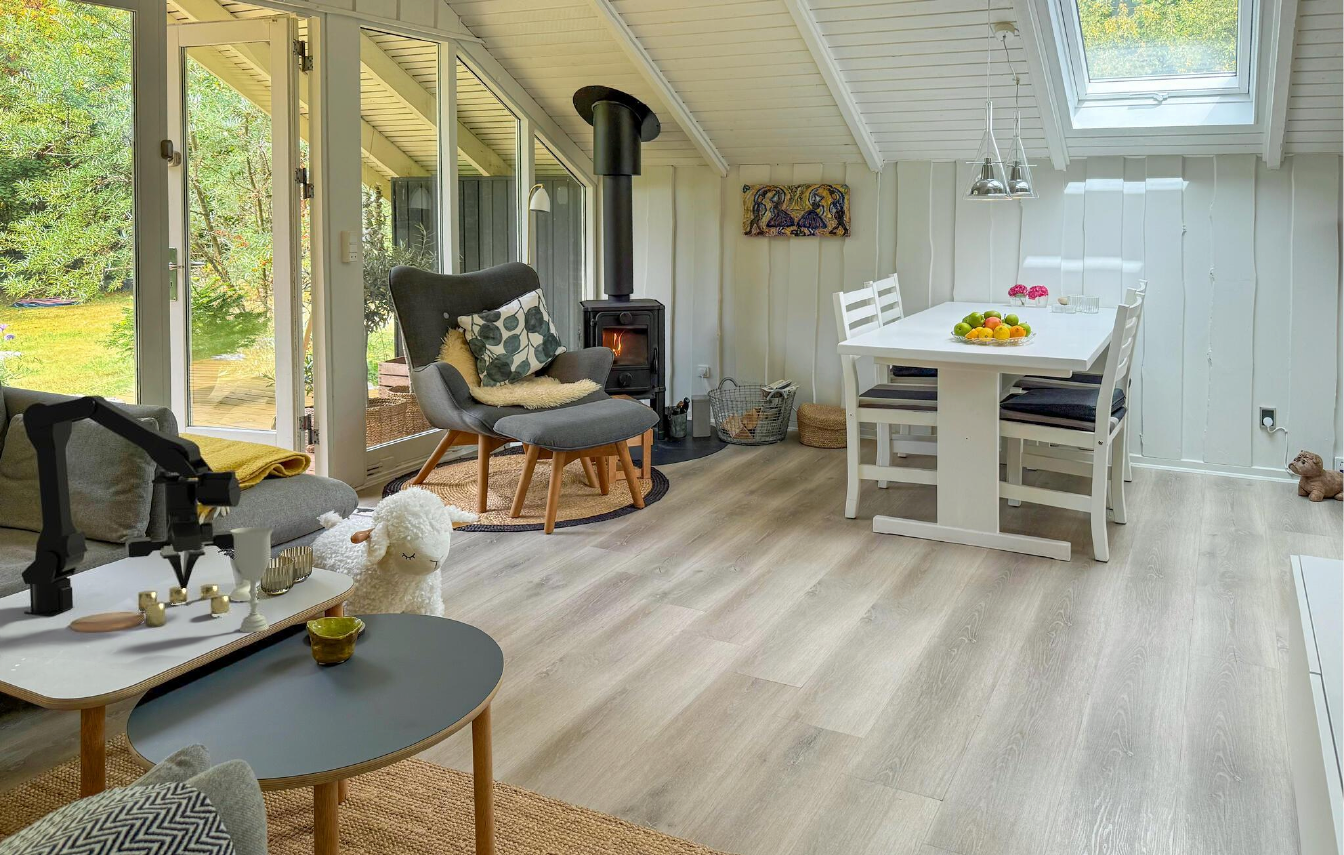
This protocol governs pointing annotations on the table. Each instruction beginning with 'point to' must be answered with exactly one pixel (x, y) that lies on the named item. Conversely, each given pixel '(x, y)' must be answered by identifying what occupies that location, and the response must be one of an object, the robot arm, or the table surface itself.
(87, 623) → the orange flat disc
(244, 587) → the cream white mushroom
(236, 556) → the chalice
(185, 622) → the table surface
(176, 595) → the spacer field
